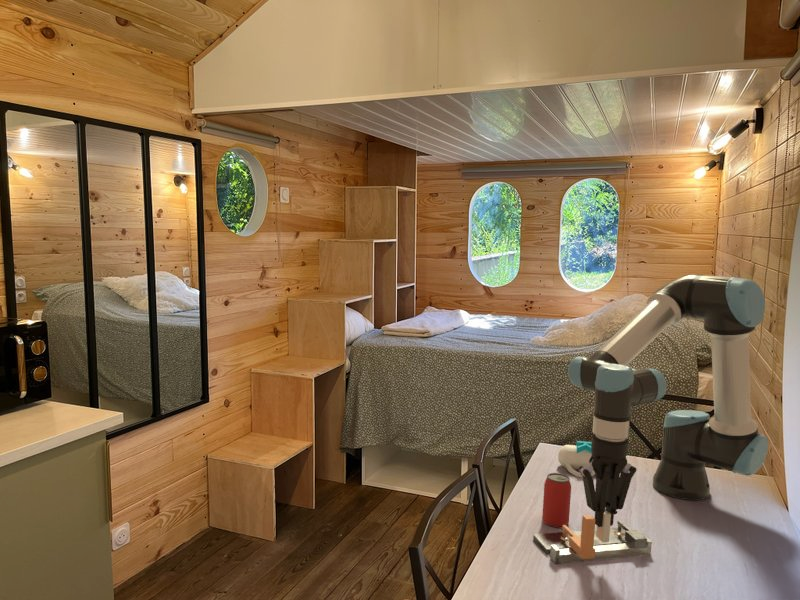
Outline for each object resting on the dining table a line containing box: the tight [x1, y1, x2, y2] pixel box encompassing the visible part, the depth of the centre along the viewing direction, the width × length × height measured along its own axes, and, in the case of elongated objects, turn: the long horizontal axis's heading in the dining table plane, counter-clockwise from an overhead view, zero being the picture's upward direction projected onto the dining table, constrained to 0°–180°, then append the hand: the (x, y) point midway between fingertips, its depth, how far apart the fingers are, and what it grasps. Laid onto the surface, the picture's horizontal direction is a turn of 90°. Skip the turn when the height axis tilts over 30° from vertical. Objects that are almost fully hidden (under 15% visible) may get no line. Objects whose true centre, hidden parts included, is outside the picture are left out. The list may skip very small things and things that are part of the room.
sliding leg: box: [561, 514, 596, 559], centre depth 139 cm, size 3×12×10 cm, turn 13°
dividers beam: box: [549, 519, 653, 565], centre depth 142 cm, size 24×9×4 cm, turn 103°
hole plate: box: [532, 526, 627, 555], centre depth 146 cm, size 24×7×1 cm, turn 103°
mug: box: [557, 440, 595, 479], centre depth 190 cm, size 12×9×12 cm
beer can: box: [541, 472, 572, 528], centre depth 155 cm, size 7×7×12 cm
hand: (602, 539), depth 135 cm, fingers closed
